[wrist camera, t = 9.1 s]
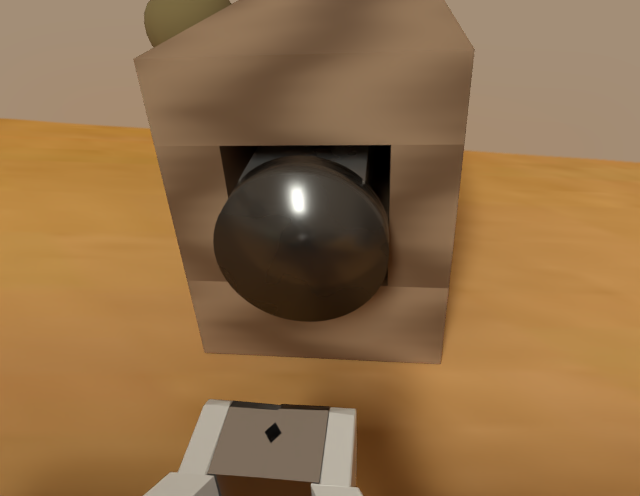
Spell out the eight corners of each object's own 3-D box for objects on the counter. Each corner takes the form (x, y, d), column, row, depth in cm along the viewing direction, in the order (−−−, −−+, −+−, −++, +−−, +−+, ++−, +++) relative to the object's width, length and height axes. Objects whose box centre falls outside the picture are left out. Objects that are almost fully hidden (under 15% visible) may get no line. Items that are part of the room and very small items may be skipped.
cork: (251, 147, 38) (229, -19, 32) (271, 179, 33) (249, -10, 27) (169, 161, 36) (129, -10, 30) (176, 197, 31) (130, 1, 25)
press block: (204, 352, 20) (133, 59, 14) (270, 197, 31) (246, -5, 25) (440, 363, 19) (474, 49, 13) (422, 199, 29) (436, -13, 23)
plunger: (227, 318, 16) (198, 173, 13) (292, 158, 27) (284, 58, 24) (387, 325, 15) (391, 173, 13) (389, 158, 26) (391, 56, 23)
